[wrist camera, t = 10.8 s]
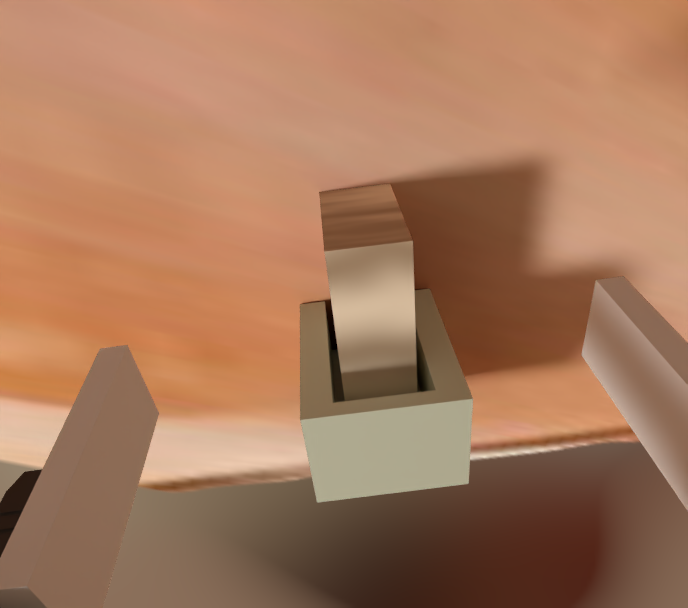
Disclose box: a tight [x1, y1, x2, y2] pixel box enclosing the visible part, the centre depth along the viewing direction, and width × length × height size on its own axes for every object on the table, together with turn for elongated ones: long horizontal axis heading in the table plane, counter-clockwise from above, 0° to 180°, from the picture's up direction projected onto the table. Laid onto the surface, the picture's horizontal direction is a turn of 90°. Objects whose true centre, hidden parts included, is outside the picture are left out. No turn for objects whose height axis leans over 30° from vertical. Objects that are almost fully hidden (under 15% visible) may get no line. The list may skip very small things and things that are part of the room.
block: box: [300, 289, 473, 502], centre depth 39 cm, size 8×10×12 cm
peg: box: [319, 183, 417, 401], centre depth 37 cm, size 14×5×9 cm, turn 6°
